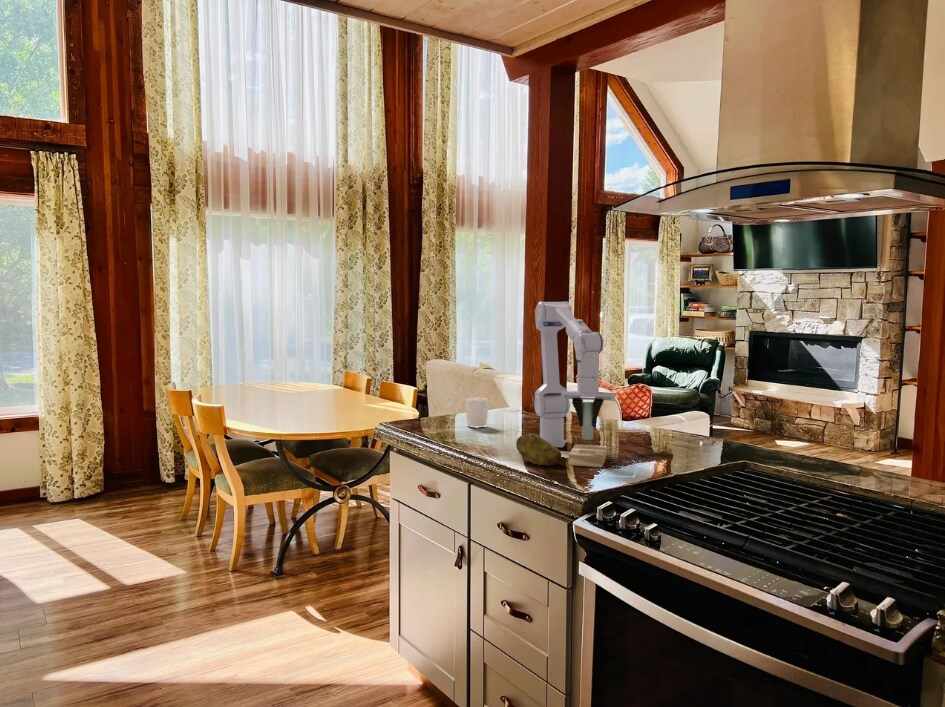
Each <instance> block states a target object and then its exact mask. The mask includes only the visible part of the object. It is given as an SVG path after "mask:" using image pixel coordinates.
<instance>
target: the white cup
mask: <svg viewBox="0 0 945 707" xmlns="http://www.w3.org/2000/svg"><path fill="white" fill-rule="evenodd" d="M465 410H466V413H465V414H466V421H467V422H466V423H467V427H468V426H484V425H487V424H488V413H489V398H488V397H479V396H476V397H467V398H465ZM487 426H488V425H487Z"/></svg>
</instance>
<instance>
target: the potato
mask: <svg viewBox="0 0 945 707" xmlns="http://www.w3.org/2000/svg"><path fill="white" fill-rule="evenodd" d="M515 444H516V445H515V446H516V450H517V451H518V452H519V453H520V455H521V456H522V457H523V459H527V460H528V461H529V462H530V464H532V463H533V465H535V464H538V465H537V466H541V465H545V466H544V467H553V466H556V465H558V464H560V463H561V462H562V455H561V452H560V451H561V450H559V449H558V447H554V446H553V445H551V444H550V443H548V442H547V441H546V440H544V439H542V438H541V437H540V435H538V434H535V433H532V432H528V433H524V434H522V435H520V436H519V437H518V438H517V439H516V443H515ZM552 465H553V466H552Z"/></svg>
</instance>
